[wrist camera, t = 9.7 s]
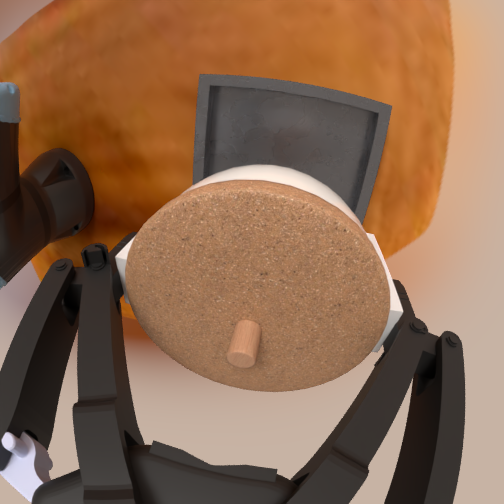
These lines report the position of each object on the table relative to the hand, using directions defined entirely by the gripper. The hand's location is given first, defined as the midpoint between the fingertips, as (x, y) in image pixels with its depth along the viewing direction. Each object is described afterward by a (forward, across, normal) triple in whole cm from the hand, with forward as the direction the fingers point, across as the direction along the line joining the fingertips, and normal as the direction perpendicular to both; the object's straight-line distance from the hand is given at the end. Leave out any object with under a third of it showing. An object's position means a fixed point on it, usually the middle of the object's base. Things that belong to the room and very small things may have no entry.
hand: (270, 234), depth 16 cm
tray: (+16, 0, 0) cm, 16 cm away
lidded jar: (+1, 0, 0) cm, 1 cm away
